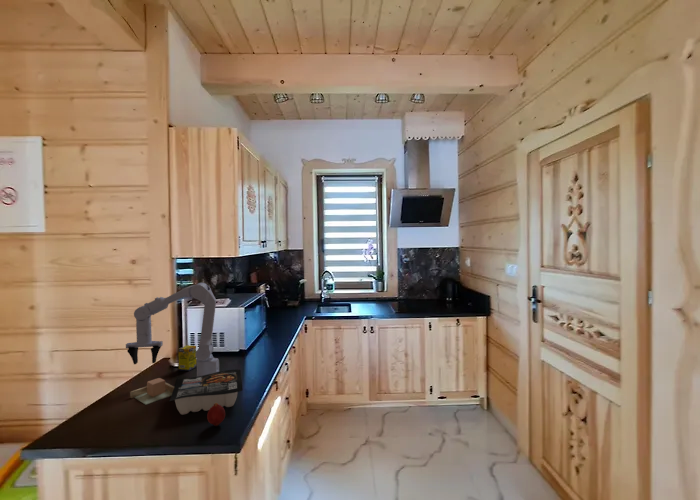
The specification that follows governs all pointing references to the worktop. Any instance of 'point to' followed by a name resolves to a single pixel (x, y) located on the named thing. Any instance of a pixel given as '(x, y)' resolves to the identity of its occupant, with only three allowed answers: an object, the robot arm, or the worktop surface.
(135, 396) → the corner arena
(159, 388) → the terracotta cube
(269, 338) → the worktop surface
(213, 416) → the onion
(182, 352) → the supplement box
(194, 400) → the food packaging
